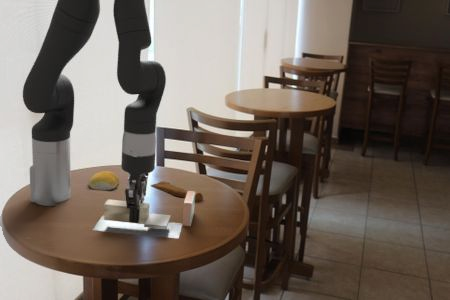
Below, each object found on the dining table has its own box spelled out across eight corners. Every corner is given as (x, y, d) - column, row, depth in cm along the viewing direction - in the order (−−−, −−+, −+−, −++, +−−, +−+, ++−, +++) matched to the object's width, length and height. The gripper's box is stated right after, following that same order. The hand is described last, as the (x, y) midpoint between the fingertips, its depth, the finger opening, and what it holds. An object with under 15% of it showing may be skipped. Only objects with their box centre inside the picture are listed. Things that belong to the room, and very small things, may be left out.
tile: (182, 229, 114) (183, 202, 112) (186, 215, 122) (187, 190, 120) (190, 230, 114) (192, 203, 112) (193, 216, 122) (195, 191, 120)
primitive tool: (149, 186, 140) (150, 175, 139) (163, 183, 144) (164, 172, 143) (194, 207, 128) (195, 195, 128) (208, 202, 133) (209, 191, 132)
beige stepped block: (102, 222, 108) (102, 206, 107) (109, 212, 114) (109, 197, 113) (166, 229, 108) (167, 213, 107) (170, 218, 113) (171, 203, 112)
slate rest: (92, 234, 108) (92, 230, 107) (102, 219, 115) (102, 215, 115) (178, 242, 107) (178, 238, 107) (182, 227, 115) (182, 223, 115)
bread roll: (120, 181, 142) (120, 168, 141) (114, 192, 134) (115, 179, 132) (93, 179, 142) (93, 166, 141) (85, 190, 133) (85, 176, 132)
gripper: (129, 139, 112) (127, 205, 117) (114, 157, 99) (111, 230, 104) (160, 143, 112) (156, 209, 117) (149, 160, 99) (145, 234, 104)
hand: (135, 218), depth 111 cm, fingers closed on beige stepped block, 2 cm apart
